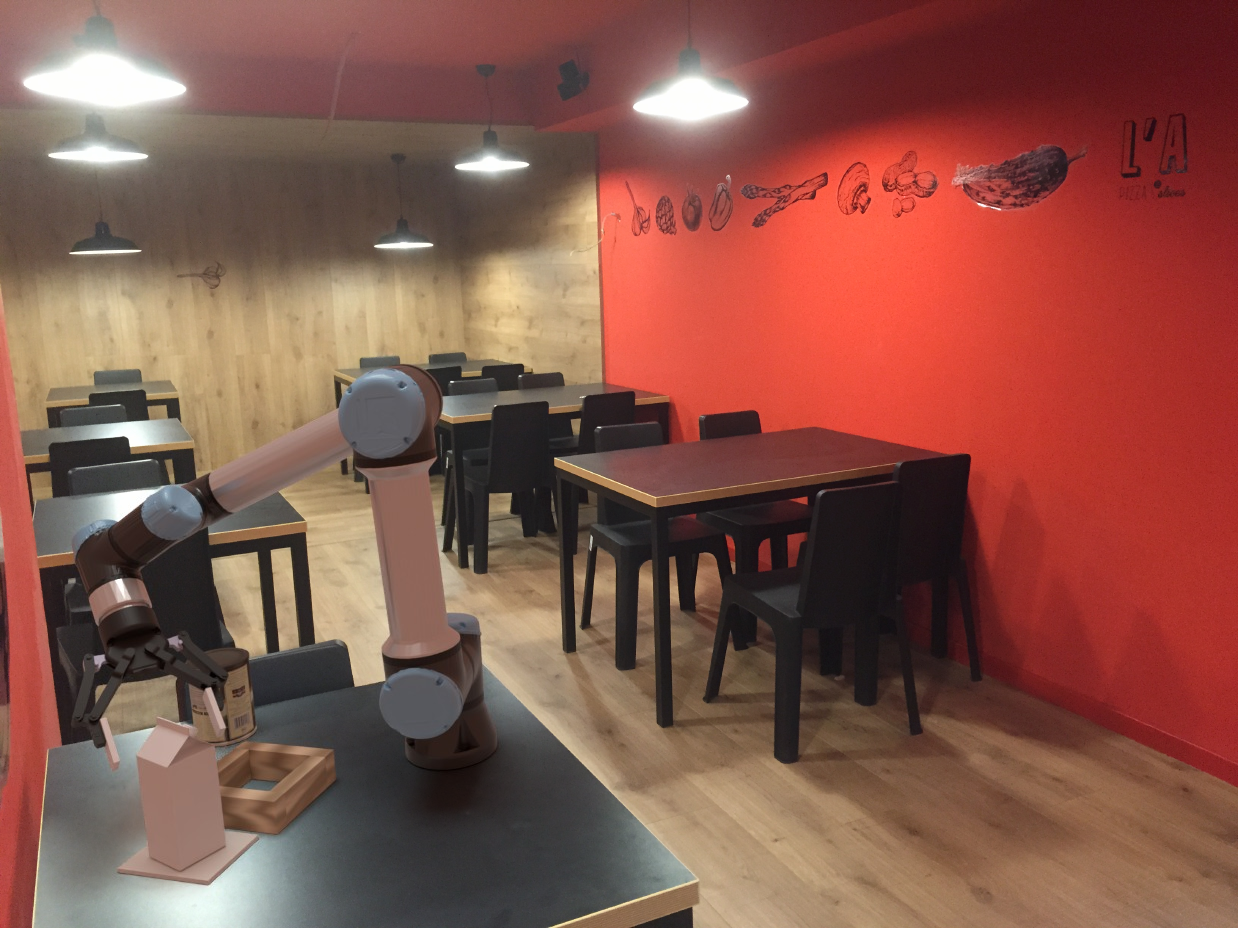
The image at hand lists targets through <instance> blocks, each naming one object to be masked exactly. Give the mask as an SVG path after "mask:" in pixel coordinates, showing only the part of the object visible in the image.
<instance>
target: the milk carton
mask: <svg viewBox="0 0 1238 928" xmlns="http://www.w3.org/2000/svg"><path fill="white" fill-rule="evenodd" d="M198 730H199V729H197V728H195V727H194V726H193V725H189V724H187V723H183V724H180V723H178V722H174V721H172V720H169V719H166V718H164V717H160V716H156V726H154V728H153V730H152V731H151V732H150V734H149V735H148V737H146V739H145V741H144V742H143V744H142V745H141V747H140V748H139V750H138V751H137V753H136V754H135V759H136V766H137V774H138V781H139V787H140V790H139V791H140V795H141V797H140V799H141V803H142V813H143V820H144V827H145V828H144V829H145V835H146V842H147V843H146V845H148V852H149V856H150V857H151V858H153V859H156V860H158V861H160V862H162V863H164V864H166V865H168V866H170V867H172V868H174V869H176V870H178V871H181V870H183V869H185V868H186V867H188V866H190V865H192V864H193V863H195V862H197V861H199V860H201V859H202V858H204V857H206V856H208V855H209V854H211V853H213V852H215V851H216V850H218V849H220V848H222V847H223V846H225V845H226V839H225V831H226V830H225V828H224V821H223V813H222V804H221V795H220V786H219V777H218V769H217V761H218V760H217V753H216V747H215V745H213V744H210V743H208V742H206V741H203V740H201V739H198V738H196V737H195V736H196V734H197V732H198Z"/></svg>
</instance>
